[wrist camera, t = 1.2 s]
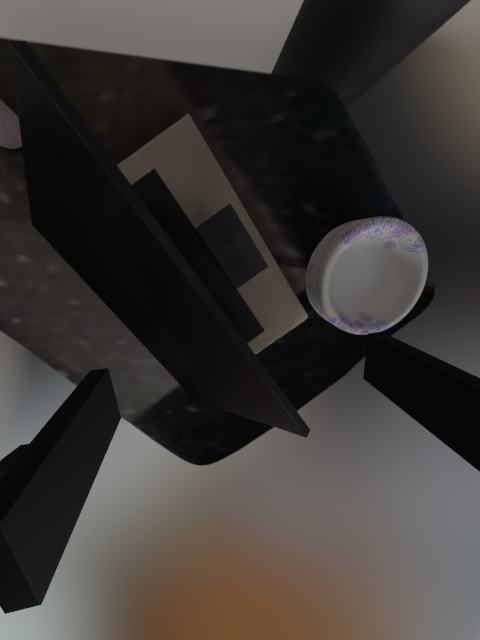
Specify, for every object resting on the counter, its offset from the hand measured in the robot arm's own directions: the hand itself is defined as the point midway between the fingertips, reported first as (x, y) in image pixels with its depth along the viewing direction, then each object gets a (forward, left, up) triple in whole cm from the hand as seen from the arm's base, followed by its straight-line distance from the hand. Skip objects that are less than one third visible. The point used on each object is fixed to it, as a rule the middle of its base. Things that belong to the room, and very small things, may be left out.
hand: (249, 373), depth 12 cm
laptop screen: (+5, -3, -14) cm, 16 cm away
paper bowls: (-18, +10, -25) cm, 32 cm away
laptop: (+1, -3, -25) cm, 25 cm away
